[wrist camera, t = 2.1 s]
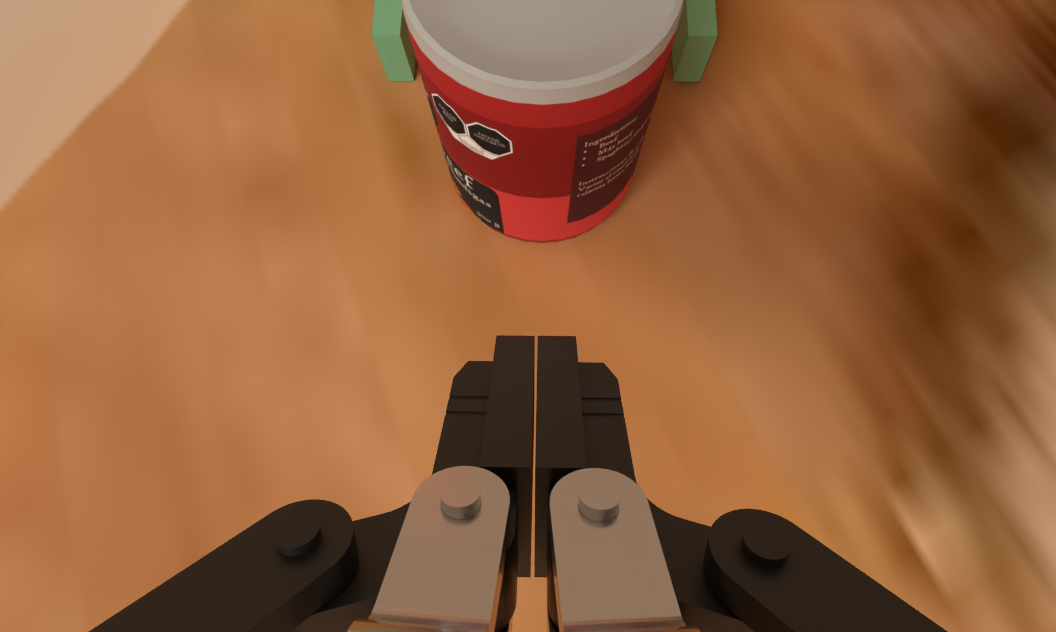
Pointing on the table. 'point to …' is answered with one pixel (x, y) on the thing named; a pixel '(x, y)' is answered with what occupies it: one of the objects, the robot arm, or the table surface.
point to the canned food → (542, 103)
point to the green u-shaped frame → (687, 48)
